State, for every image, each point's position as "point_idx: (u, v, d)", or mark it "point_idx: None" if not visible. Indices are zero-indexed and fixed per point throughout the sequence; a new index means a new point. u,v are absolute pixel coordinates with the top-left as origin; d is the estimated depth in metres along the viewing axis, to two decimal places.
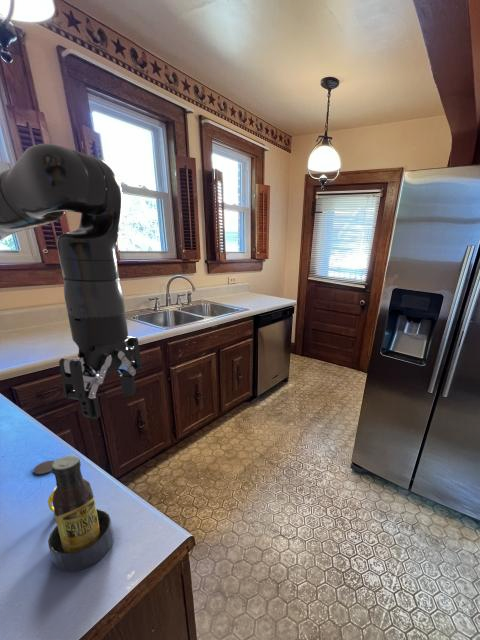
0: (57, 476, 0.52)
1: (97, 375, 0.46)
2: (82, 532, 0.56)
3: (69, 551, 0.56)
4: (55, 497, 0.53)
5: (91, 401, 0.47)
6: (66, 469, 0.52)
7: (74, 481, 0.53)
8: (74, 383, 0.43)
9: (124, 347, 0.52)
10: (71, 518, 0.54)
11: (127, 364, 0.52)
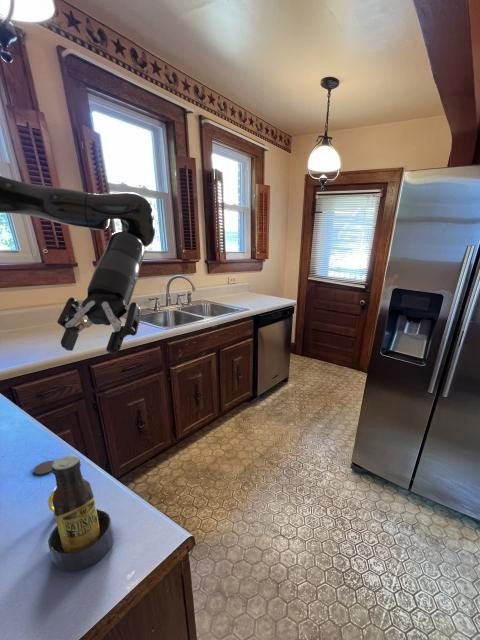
0: (57, 476, 0.52)
1: (121, 323, 0.61)
2: (82, 532, 0.56)
3: (69, 551, 0.56)
4: (55, 497, 0.53)
5: None
6: (66, 469, 0.52)
7: (74, 481, 0.53)
8: (138, 322, 0.60)
9: None
10: (71, 518, 0.54)
11: (91, 323, 0.61)
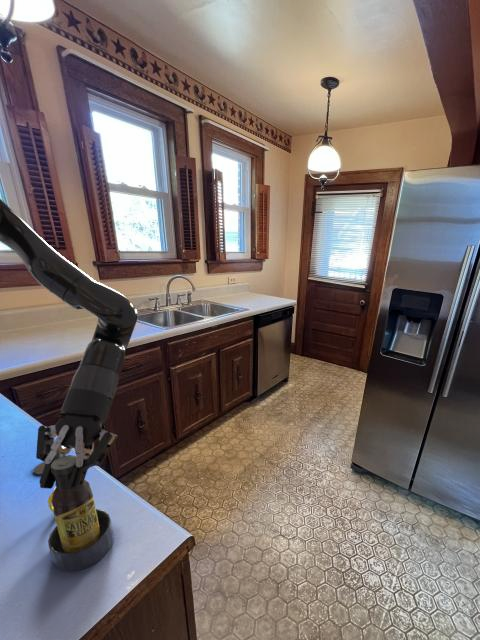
0: (56, 476, 0.52)
1: None
2: (82, 532, 0.56)
3: (69, 551, 0.56)
4: (54, 497, 0.53)
5: None
6: (65, 469, 0.52)
7: None
8: (107, 452, 0.55)
9: None
10: (71, 518, 0.54)
11: (70, 446, 0.57)
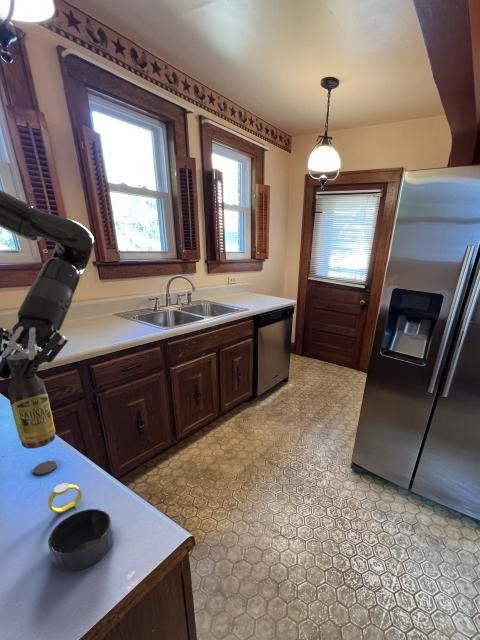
0: (10, 366, 0.60)
1: None
2: (35, 422, 0.64)
3: (24, 440, 0.64)
4: (10, 387, 0.61)
5: None
6: (18, 360, 0.59)
7: None
8: (57, 351, 0.63)
9: None
10: (24, 407, 0.62)
11: (26, 348, 0.64)
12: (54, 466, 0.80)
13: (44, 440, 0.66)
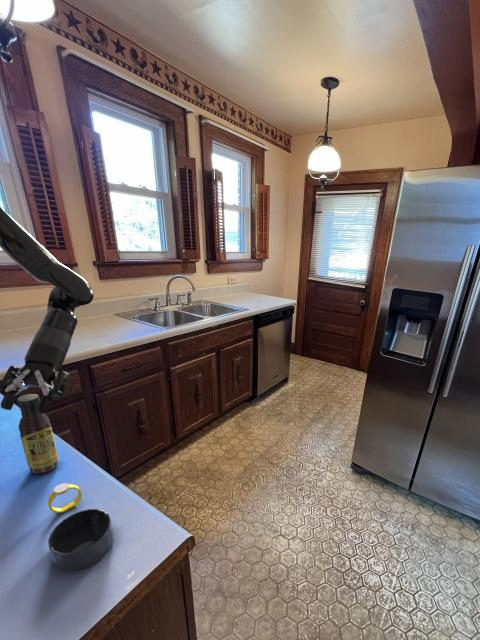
0: (21, 406, 0.71)
1: (53, 385, 0.75)
2: (41, 452, 0.75)
3: (32, 466, 0.76)
4: (20, 423, 0.73)
5: None
6: (27, 401, 0.71)
7: (34, 412, 0.73)
8: (65, 385, 0.75)
9: None
10: (32, 439, 0.73)
11: None
12: None
13: (49, 466, 0.78)
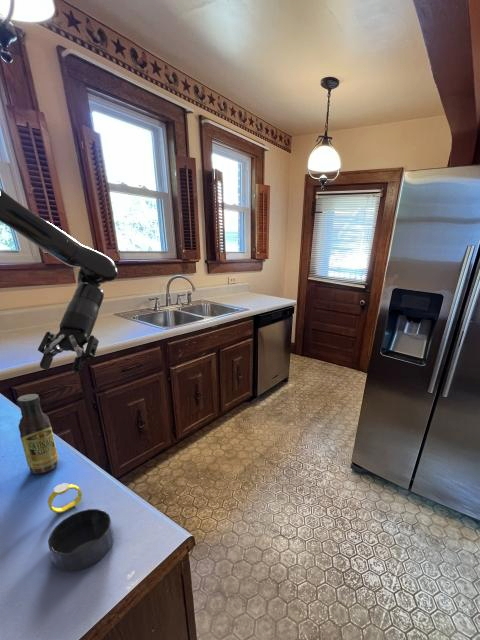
0: (21, 406, 0.71)
1: (84, 349, 0.85)
2: (41, 452, 0.75)
3: (32, 466, 0.76)
4: (20, 423, 0.73)
5: None
6: (27, 401, 0.71)
7: (34, 412, 0.73)
8: (95, 349, 0.85)
9: None
10: (32, 439, 0.73)
11: (62, 349, 0.86)
12: None
13: (49, 466, 0.78)
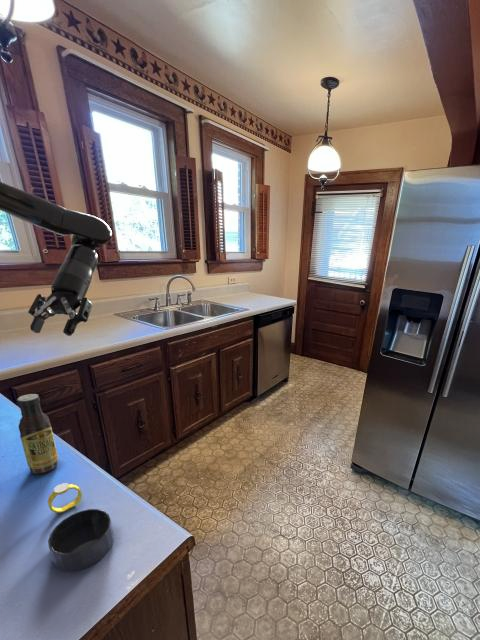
0: (21, 406, 0.71)
1: (77, 313, 0.82)
2: (41, 452, 0.75)
3: (32, 466, 0.76)
4: (20, 423, 0.73)
5: None
6: (27, 401, 0.71)
7: (34, 412, 0.73)
8: (89, 312, 0.81)
9: None
10: (32, 439, 0.73)
11: (54, 313, 0.82)
12: None
13: (49, 466, 0.78)
